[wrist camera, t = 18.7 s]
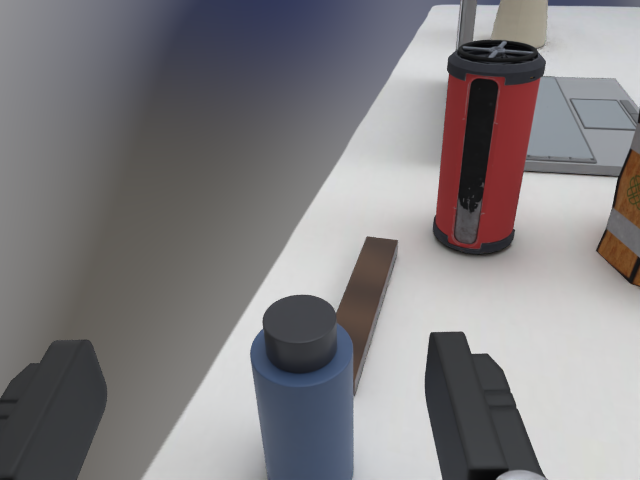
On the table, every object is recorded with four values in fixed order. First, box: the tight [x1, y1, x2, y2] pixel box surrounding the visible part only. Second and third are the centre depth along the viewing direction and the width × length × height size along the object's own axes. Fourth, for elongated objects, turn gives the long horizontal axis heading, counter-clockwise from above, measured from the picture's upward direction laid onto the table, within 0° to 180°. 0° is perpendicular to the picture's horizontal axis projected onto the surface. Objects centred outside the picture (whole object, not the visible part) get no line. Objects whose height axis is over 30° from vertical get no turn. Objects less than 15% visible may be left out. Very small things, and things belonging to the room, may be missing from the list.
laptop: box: [456, 0, 640, 176], centre depth 72 cm, size 35×26×27 cm
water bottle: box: [250, 295, 353, 480], centre depth 30 cm, size 5×5×12 cm
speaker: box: [433, 40, 546, 254], centre depth 49 cm, size 8×8×18 cm
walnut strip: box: [336, 237, 398, 396], centre depth 45 cm, size 18×3×2 cm, turn 164°
